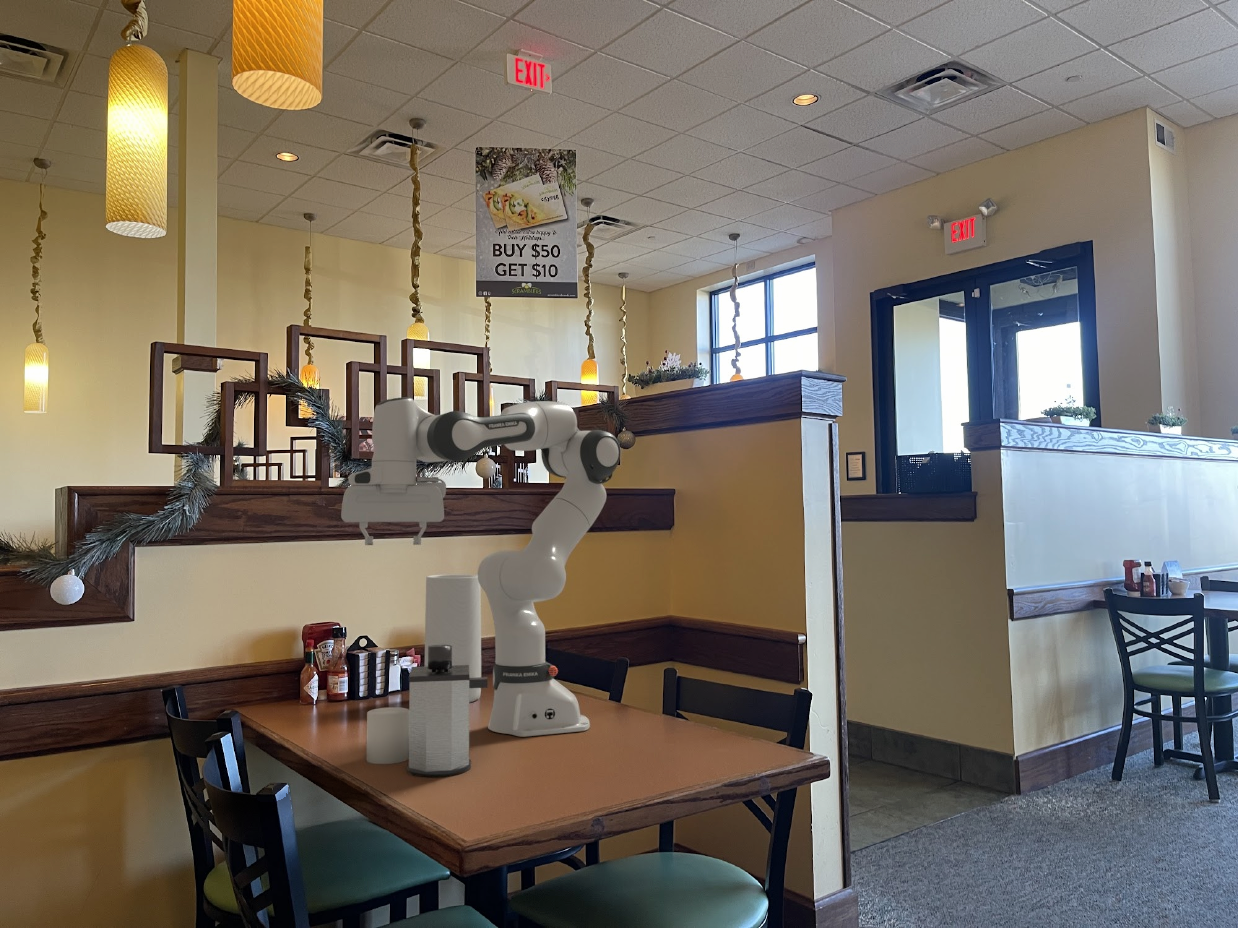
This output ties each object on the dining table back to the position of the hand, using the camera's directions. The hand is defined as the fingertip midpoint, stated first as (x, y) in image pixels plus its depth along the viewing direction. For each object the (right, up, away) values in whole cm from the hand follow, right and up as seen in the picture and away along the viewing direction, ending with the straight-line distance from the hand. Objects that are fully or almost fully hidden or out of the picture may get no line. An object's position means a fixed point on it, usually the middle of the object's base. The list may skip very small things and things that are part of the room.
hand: (393, 544), depth 182 cm
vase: (+3, -44, +49) cm, 66 cm away
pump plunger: (+12, -39, -14) cm, 43 cm away
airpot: (+14, -40, -14) cm, 45 cm away
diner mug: (0, -41, -6) cm, 41 cm away
